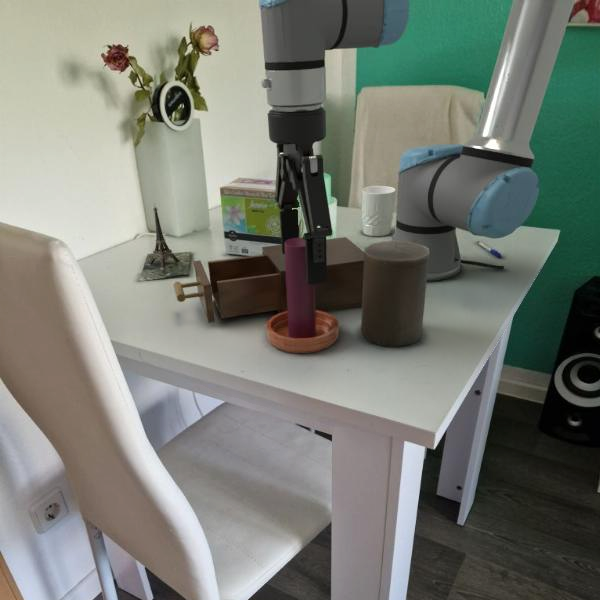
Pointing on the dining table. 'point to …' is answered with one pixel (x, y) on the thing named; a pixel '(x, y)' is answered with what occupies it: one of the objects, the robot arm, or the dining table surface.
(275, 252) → the cabinet
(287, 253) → the dark purple cylinder
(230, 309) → the drawer
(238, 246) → the tea box
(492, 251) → the ballpoint pen
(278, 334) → the saucer
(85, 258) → the dining table surface
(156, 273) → the eiffel tower figurine
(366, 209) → the white cup
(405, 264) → the pillar candle
